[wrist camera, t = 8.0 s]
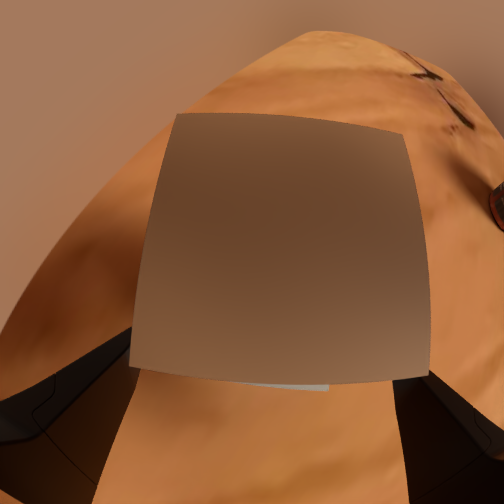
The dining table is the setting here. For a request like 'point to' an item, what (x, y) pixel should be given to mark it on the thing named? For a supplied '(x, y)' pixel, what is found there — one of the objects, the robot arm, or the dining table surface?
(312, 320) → the walnut pillar
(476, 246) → the dining table surface
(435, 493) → the robot arm
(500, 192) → the supplement bottle
